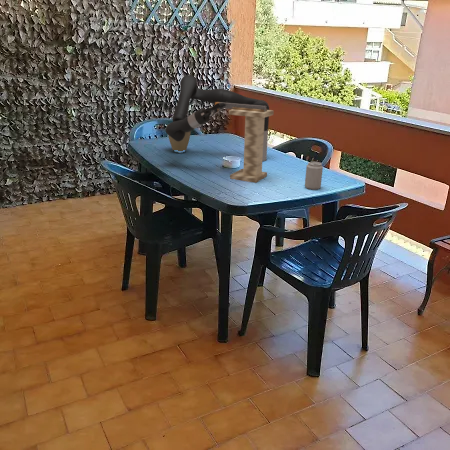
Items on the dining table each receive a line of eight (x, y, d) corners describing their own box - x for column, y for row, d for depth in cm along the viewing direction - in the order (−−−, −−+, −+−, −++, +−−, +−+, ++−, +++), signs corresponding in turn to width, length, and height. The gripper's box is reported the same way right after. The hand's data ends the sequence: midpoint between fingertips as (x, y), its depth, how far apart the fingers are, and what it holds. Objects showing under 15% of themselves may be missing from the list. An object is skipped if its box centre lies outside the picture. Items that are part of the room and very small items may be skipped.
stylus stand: (226, 178, 226) (228, 108, 214) (238, 171, 238) (240, 105, 225) (259, 183, 219) (263, 111, 206) (270, 176, 230) (274, 108, 218)
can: (308, 190, 210) (311, 165, 205) (301, 186, 216) (304, 161, 212) (323, 189, 212) (326, 164, 207) (316, 185, 218) (318, 160, 214)
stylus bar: (215, 107, 223) (215, 102, 222) (217, 107, 225) (217, 101, 224) (264, 111, 212) (264, 106, 211) (266, 111, 214) (266, 105, 213)
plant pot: (163, 150, 281) (162, 124, 276) (185, 148, 288) (185, 123, 282) (172, 155, 269) (171, 128, 263) (195, 153, 276) (195, 126, 270)
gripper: (188, 113, 224) (213, 98, 215) (202, 110, 236) (227, 95, 227) (194, 127, 225) (220, 112, 216) (208, 123, 237) (233, 109, 228)
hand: (223, 104), depth 222 cm, fingers open, 8 cm apart
